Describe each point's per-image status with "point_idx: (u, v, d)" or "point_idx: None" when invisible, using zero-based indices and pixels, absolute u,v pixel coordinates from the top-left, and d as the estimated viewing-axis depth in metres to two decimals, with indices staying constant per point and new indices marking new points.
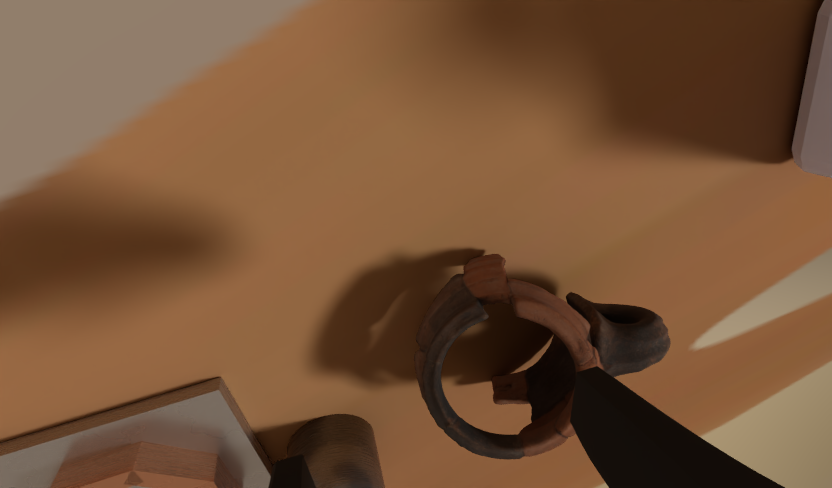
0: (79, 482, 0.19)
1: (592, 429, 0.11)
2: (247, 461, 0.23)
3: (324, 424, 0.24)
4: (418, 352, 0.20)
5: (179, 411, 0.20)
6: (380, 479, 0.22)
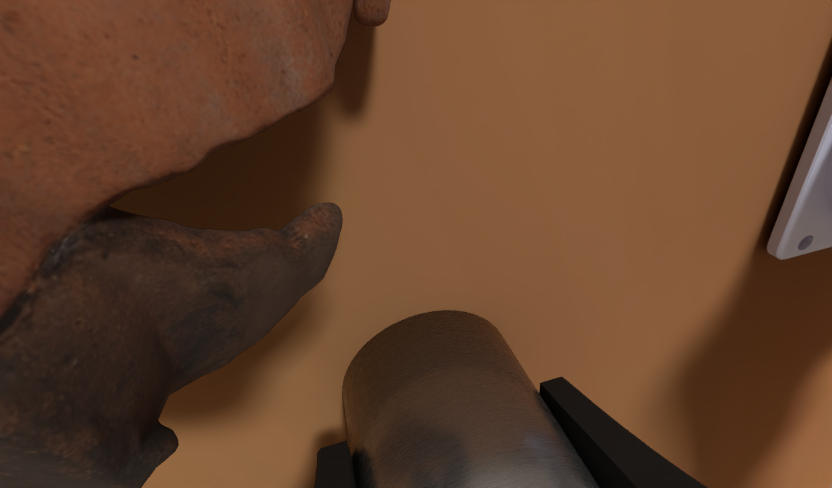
0: None
1: None
2: None
3: (345, 412, 0.12)
4: None
5: None
6: (436, 436, 0.08)
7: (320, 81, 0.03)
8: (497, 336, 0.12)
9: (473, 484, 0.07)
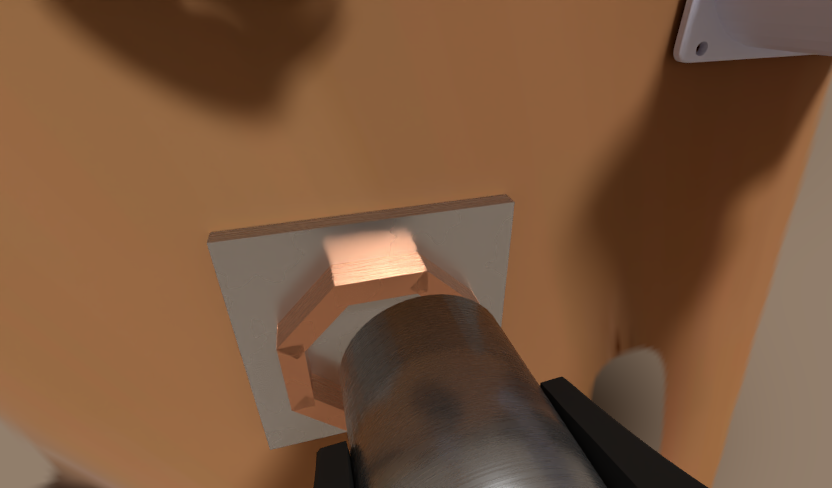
0: (286, 385, 0.18)
1: None
2: (361, 236, 0.17)
3: None
4: None
5: (236, 286, 0.17)
6: (431, 406, 0.09)
7: None
8: (493, 321, 0.12)
9: (466, 449, 0.08)
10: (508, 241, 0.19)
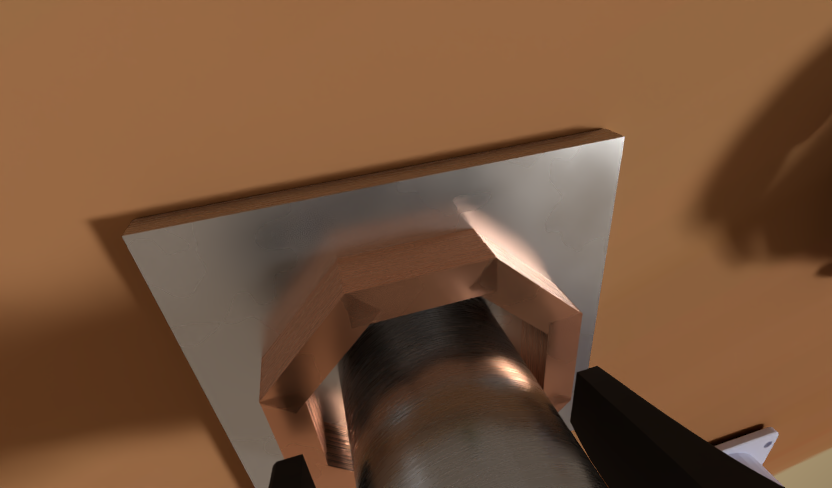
0: (398, 274, 0.10)
1: (592, 429, 0.11)
2: (580, 308, 0.14)
3: None
4: None
5: (551, 172, 0.11)
6: (431, 397, 0.09)
7: None
8: (490, 314, 0.12)
9: (465, 439, 0.08)
10: None
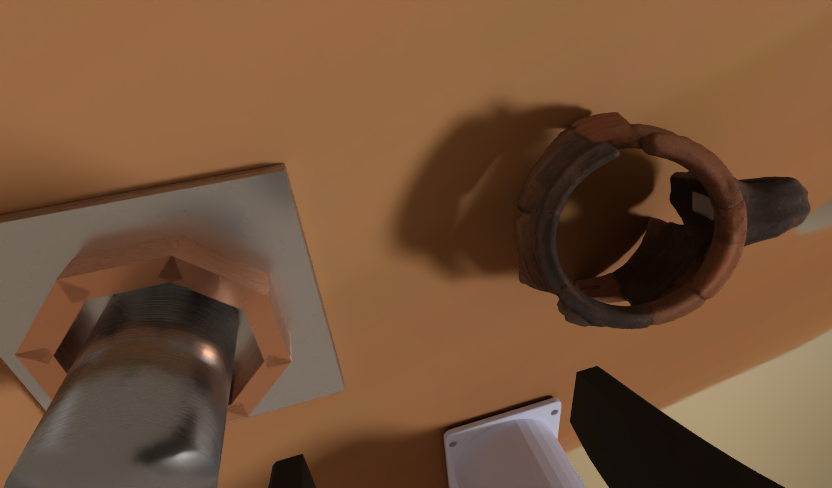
0: (101, 266, 0.14)
1: (592, 429, 0.11)
2: (302, 293, 0.19)
3: None
4: (521, 216, 0.18)
5: (232, 195, 0.16)
6: (100, 346, 0.13)
7: None
8: (206, 297, 0.17)
9: (97, 368, 0.13)
10: (307, 399, 0.22)
